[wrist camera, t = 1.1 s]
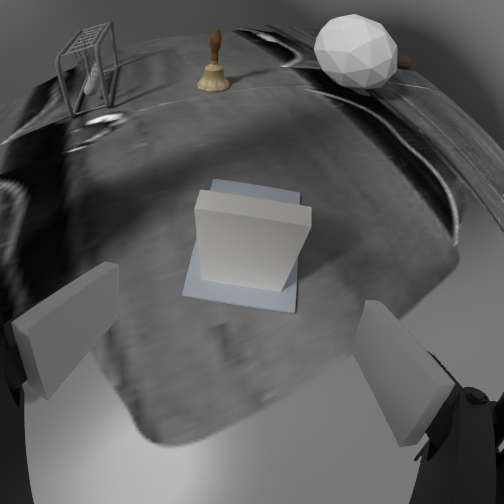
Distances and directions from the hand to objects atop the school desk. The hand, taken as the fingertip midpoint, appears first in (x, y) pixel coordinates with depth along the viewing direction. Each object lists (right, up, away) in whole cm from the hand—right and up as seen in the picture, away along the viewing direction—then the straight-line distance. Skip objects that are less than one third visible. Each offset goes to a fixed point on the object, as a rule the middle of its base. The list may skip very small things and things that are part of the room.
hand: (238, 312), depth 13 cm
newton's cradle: (-42, +47, +48) cm, 79 cm away
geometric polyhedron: (+29, +53, +60) cm, 85 cm away
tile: (-1, -1, +24) cm, 24 cm away
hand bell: (-9, +44, +51) cm, 68 cm away
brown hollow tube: (+66, +86, +85) cm, 138 cm away
